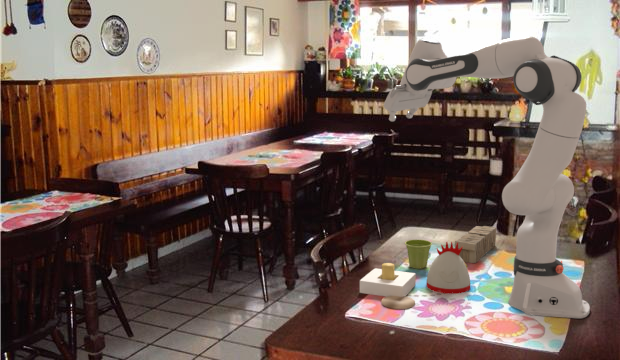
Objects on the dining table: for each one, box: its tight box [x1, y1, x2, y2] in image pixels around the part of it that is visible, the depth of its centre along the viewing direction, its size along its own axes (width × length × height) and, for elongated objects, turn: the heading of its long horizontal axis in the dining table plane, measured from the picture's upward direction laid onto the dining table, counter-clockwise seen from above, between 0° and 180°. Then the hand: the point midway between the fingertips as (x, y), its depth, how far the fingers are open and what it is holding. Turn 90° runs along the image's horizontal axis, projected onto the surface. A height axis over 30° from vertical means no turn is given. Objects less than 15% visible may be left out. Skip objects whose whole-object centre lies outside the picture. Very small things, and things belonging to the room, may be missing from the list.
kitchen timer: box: [426, 241, 471, 295], centre depth 209 cm, size 14×14×15 cm
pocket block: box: [359, 267, 417, 297], centre depth 208 cm, size 14×14×4 cm
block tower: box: [454, 225, 497, 264], centre depth 247 cm, size 8×8×29 cm
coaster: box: [381, 295, 416, 310], centre depth 196 cm, size 10×10×1 cm
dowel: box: [381, 262, 395, 281], centre depth 208 cm, size 4×4×8 cm
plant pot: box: [404, 239, 433, 270], centre depth 231 cm, size 9×9×9 cm
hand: (400, 119), depth 228 cm, fingers open, 8 cm apart
